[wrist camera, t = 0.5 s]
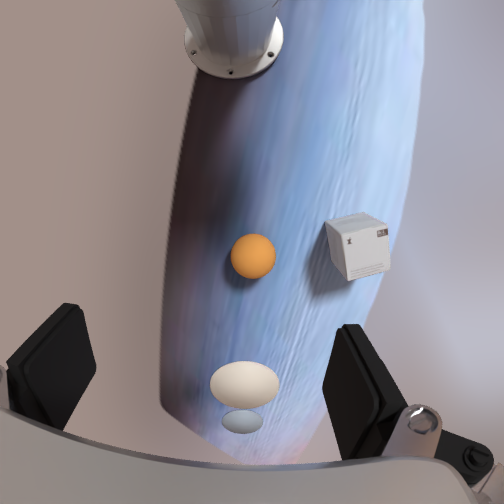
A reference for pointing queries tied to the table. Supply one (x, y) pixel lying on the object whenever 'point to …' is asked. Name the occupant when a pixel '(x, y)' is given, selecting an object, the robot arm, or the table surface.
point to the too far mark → (242, 421)
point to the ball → (253, 256)
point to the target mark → (244, 384)
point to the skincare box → (358, 245)
